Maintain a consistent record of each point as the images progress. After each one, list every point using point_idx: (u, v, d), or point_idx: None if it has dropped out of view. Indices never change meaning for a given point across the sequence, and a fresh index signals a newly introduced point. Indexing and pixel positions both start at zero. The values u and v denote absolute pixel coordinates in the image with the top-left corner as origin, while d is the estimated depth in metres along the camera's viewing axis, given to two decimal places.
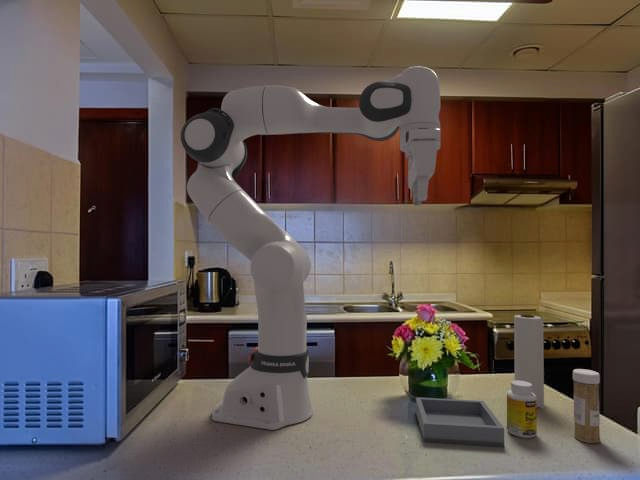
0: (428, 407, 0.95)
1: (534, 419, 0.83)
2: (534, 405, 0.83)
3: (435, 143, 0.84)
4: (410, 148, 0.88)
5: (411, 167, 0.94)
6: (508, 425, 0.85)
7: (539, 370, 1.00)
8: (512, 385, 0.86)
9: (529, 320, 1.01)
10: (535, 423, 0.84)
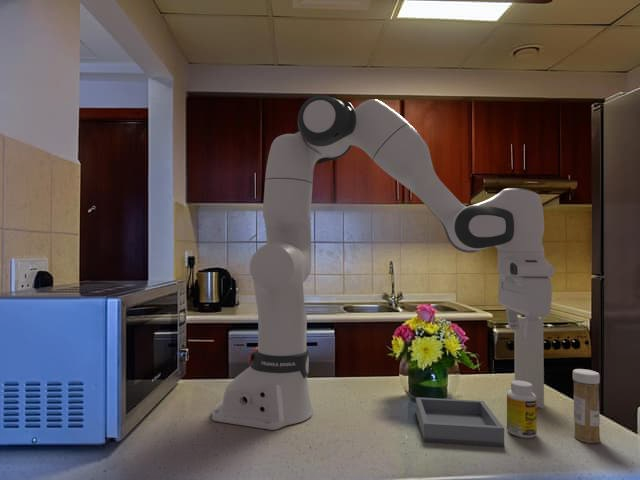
0: (428, 407, 0.95)
1: (534, 419, 0.83)
2: (534, 405, 0.83)
3: (549, 283, 0.77)
4: (516, 281, 0.82)
5: (510, 292, 0.88)
6: (508, 425, 0.85)
7: (539, 370, 1.00)
8: (512, 385, 0.86)
9: None
10: (535, 423, 0.84)
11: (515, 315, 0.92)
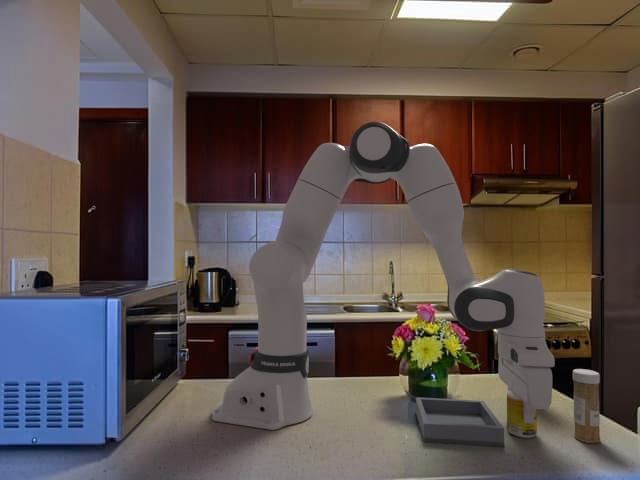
0: (428, 407, 0.95)
1: (534, 419, 0.83)
2: None
3: (550, 375, 0.77)
4: (517, 367, 0.81)
5: (510, 373, 0.87)
6: (508, 425, 0.85)
7: None
8: (512, 385, 0.86)
9: None
10: (535, 423, 0.84)
11: None
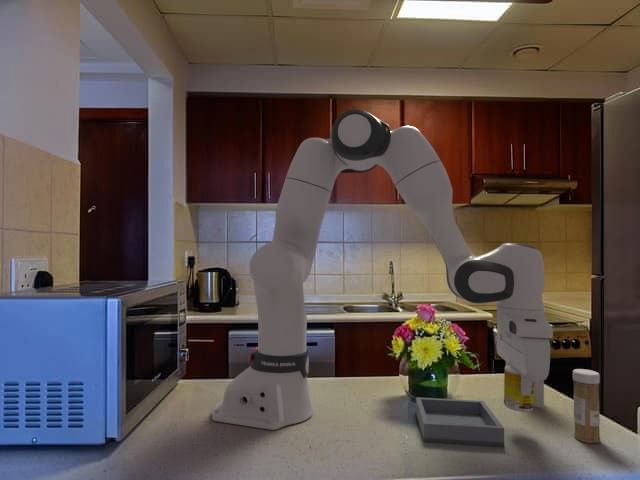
0: (428, 407, 0.95)
1: (531, 393, 0.84)
2: None
3: (548, 345, 0.77)
4: (515, 339, 0.81)
5: (509, 347, 0.87)
6: (505, 399, 0.86)
7: None
8: (510, 360, 0.86)
9: None
10: (532, 397, 0.84)
11: None
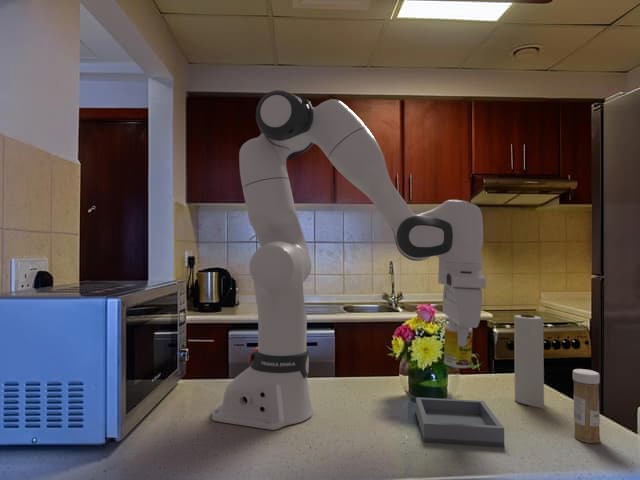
0: (428, 407, 0.95)
1: (468, 350, 0.86)
2: (469, 337, 0.86)
3: (480, 295, 0.79)
4: (451, 291, 0.84)
5: (449, 302, 0.89)
6: (444, 357, 0.88)
7: (539, 370, 1.00)
8: (450, 318, 0.88)
9: (529, 320, 1.01)
10: (469, 354, 0.86)
11: None
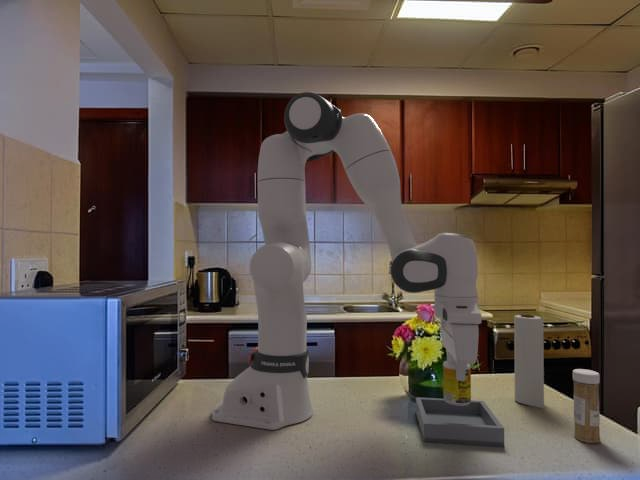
0: (428, 407, 0.95)
1: (467, 387, 0.86)
2: (467, 374, 0.86)
3: (476, 331, 0.79)
4: (448, 326, 0.83)
5: (446, 334, 0.89)
6: (444, 394, 0.88)
7: (539, 370, 1.00)
8: (447, 355, 0.88)
9: (529, 320, 1.01)
10: (468, 391, 0.86)
11: None
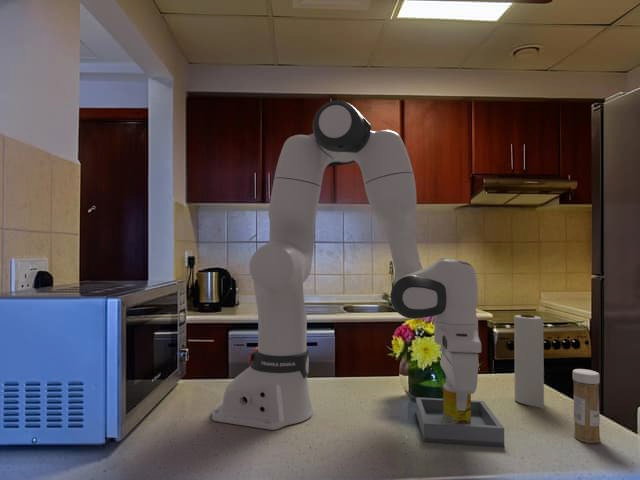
0: (428, 407, 0.95)
1: (467, 410, 0.85)
2: None
3: (476, 360, 0.79)
4: (448, 354, 0.83)
5: (446, 360, 0.89)
6: (443, 416, 0.88)
7: (539, 370, 1.00)
8: (447, 377, 0.88)
9: (529, 320, 1.01)
10: (468, 414, 0.86)
11: None
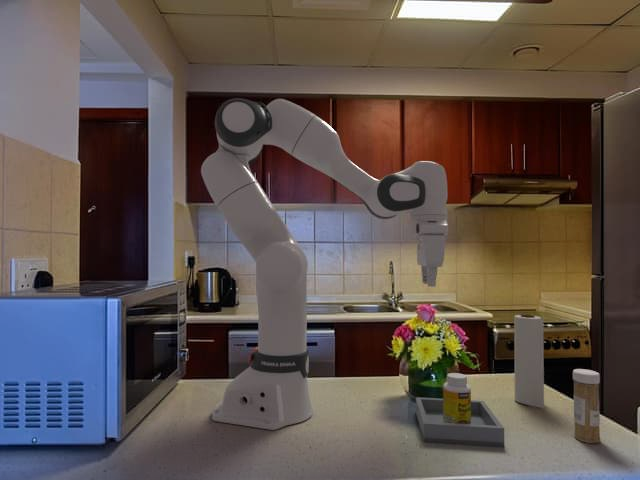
0: (428, 407, 0.95)
1: (467, 410, 0.85)
2: (467, 397, 0.85)
3: (443, 238, 0.92)
4: (420, 239, 0.97)
5: (420, 251, 1.03)
6: (443, 416, 0.88)
7: (539, 370, 1.00)
8: (447, 377, 0.88)
9: (529, 320, 1.01)
10: (468, 414, 0.86)
11: (428, 272, 1.07)
